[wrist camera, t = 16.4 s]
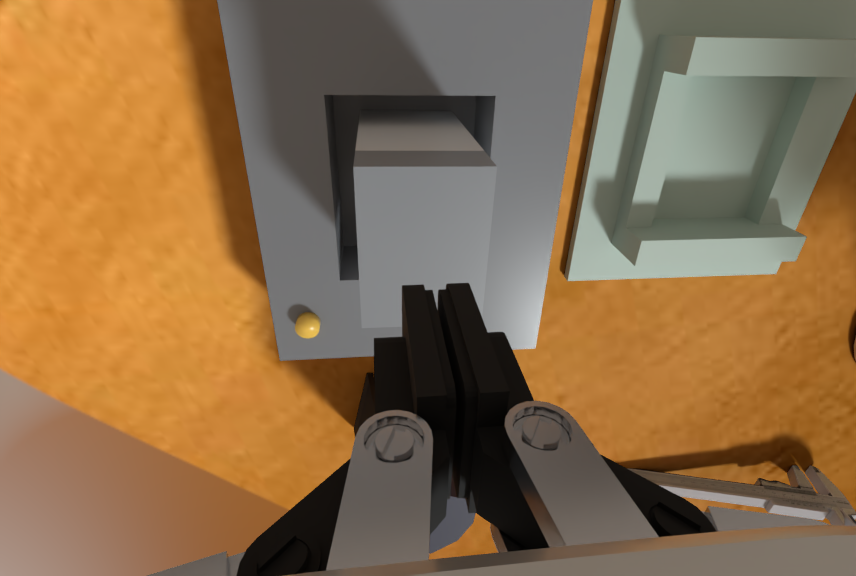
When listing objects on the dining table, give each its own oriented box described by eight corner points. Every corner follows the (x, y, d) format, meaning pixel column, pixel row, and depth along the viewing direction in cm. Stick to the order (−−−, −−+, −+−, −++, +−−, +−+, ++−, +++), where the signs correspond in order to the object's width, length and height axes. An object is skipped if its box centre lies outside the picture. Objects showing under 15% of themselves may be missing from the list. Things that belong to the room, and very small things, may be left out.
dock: (557, -31, 21) (606, -43, 17) (514, 305, 30) (538, 354, 26) (240, -41, 20) (202, -57, 16) (292, 313, 29) (278, 367, 25)
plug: (451, 110, 24) (497, 166, 15) (445, 223, 26) (481, 323, 18) (360, 109, 23) (353, 166, 14) (365, 224, 26) (361, 328, 17)
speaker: (326, 427, 34) (332, 573, 25) (368, 370, 32) (390, 506, 23) (413, 453, 37) (445, 590, 29) (455, 403, 35) (503, 532, 27)
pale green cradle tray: (893, -20, 23) (973, -25, 20) (769, 269, 31) (813, 297, 28) (620, -29, 22) (661, -36, 19) (564, 276, 30) (586, 306, 27)
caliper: (812, 461, 43) (876, 526, 37) (806, 470, 43) (869, 534, 38) (600, 466, 40) (636, 536, 35) (597, 475, 41) (632, 545, 35)
